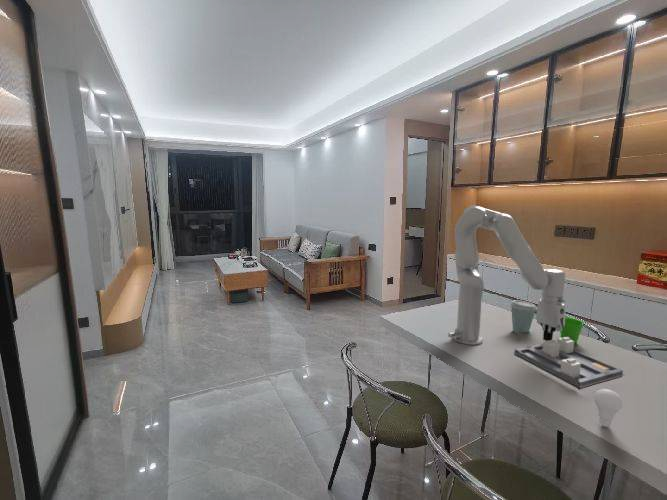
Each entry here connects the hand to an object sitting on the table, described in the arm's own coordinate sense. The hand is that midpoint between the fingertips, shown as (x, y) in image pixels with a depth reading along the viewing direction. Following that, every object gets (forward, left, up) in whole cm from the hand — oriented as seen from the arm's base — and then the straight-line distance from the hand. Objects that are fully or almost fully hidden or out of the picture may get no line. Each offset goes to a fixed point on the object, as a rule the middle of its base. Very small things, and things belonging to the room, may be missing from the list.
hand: (547, 339), depth 143 cm
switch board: (-8, -14, -3) cm, 16 cm away
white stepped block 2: (-16, -21, -2) cm, 26 cm away
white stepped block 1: (-8, -8, -2) cm, 11 cm away
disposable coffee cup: (+3, +15, -4) cm, 16 cm away
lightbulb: (-31, -42, -4) cm, 52 cm away
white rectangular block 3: (0, -8, -2) cm, 8 cm away
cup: (+11, -2, -4) cm, 12 cm away
